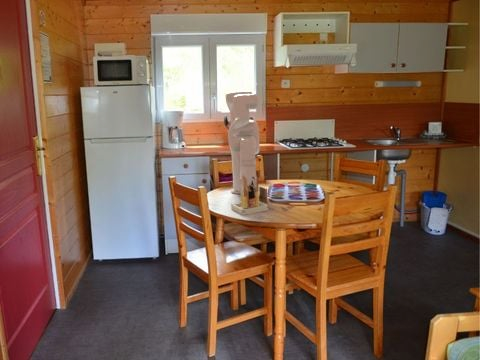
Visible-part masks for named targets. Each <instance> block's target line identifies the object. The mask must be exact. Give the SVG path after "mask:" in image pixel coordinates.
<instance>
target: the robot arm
mask: <svg viewBox="0 0 480 360" xmlns="http://www.w3.org/2000/svg"><path fill="white" fill-rule="evenodd" d="M225 102H226V105H227V106H226V107H227V108H228V110H229V113H230V126H229V128H228V130H227V141H228V146H229V150H230V155H231V164H232V188H231V190H230V192H231V193H232V194H235V195H237V194H238V195H241V191H240V178H244V179H245V183H246V186H249V191H248V193H249V199H253V198H255V192H254V191H255V188H256V187H257V186H256V176H257V171H256V169H257V168H256V155H258V154H259V153H260V147H261V146H260V129H259V123H258V122H257V121H256V120H254V119H251V114H250V113H251V112H250V110H251V111H252V110H258V109H259V108H260V98H259V95H258V93H257V92H256V91H255V90H253V89H251V90H234V91H233V90H231V91H229V92H227V93H225ZM251 184H252V185H251ZM251 186H252V187H251Z"/></svg>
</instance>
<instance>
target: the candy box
mask: <svg viewBox="0 0 480 360" xmlns="http://www.w3.org/2000/svg"><path fill="white" fill-rule="evenodd" d="M251 185H252V184H251ZM256 186H257V187H256V188H255V191H254V192H255V198H253V199H249V193H248V191H249V186H246V183H245V179H244V178H240V191H241V194H240V203H241V207H243V208H249V207H254V206H259V187H260V186H259V177H258V176H257V175H256ZM251 187H252V186H251Z"/></svg>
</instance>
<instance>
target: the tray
mask: <svg viewBox="0 0 480 360" xmlns="http://www.w3.org/2000/svg"><path fill="white" fill-rule="evenodd" d="M230 206H231V207H230V208H231V210H232V211H234V212H236V213H238V214H240V215H241V216H246V215H251V214H255V213H256V214H257V213H261V212H266V211H270V207H269V204H266V202H263V203H262V202H260V201H259V206H254V207H249V208H243V207H241V202H236V203H231V204H230Z"/></svg>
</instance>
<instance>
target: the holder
mask: <svg viewBox="0 0 480 360" xmlns="http://www.w3.org/2000/svg"><path fill="white" fill-rule="evenodd" d="M258 187H259V201H260V202H262V203H266V202H268V188H265V187H262V186H258Z"/></svg>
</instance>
